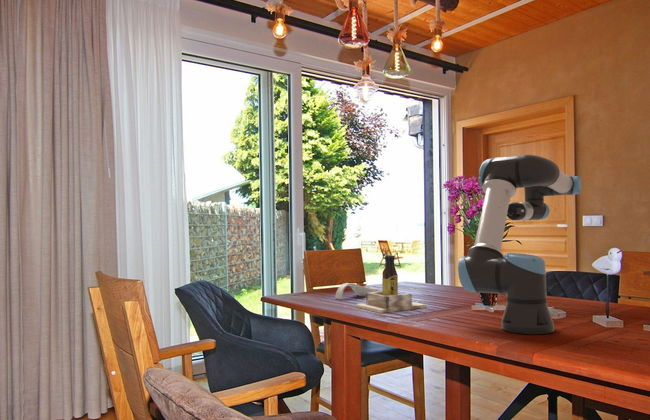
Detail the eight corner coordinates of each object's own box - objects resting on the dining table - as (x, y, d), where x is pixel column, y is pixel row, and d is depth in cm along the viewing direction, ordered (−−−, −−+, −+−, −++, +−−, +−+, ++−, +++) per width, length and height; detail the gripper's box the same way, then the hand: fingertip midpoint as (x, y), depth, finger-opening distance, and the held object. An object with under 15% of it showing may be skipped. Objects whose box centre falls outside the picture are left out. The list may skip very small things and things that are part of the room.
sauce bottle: (393, 306, 196) (391, 256, 197) (379, 304, 200) (378, 255, 201) (401, 303, 202) (399, 255, 202) (387, 302, 205) (386, 254, 206)
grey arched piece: (365, 293, 246) (364, 279, 246) (383, 295, 237) (382, 280, 237) (330, 299, 230) (329, 283, 230) (347, 301, 221) (347, 285, 222)
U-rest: (380, 313, 188) (380, 298, 188) (355, 307, 204) (355, 293, 204) (425, 307, 198) (425, 293, 198) (398, 302, 214) (398, 288, 214)
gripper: (545, 219, 196) (507, 220, 186) (496, 220, 218) (460, 221, 208) (544, 200, 197) (506, 200, 186) (495, 203, 218) (459, 203, 208)
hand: (482, 211), depth 197 cm, fingers open, 13 cm apart
